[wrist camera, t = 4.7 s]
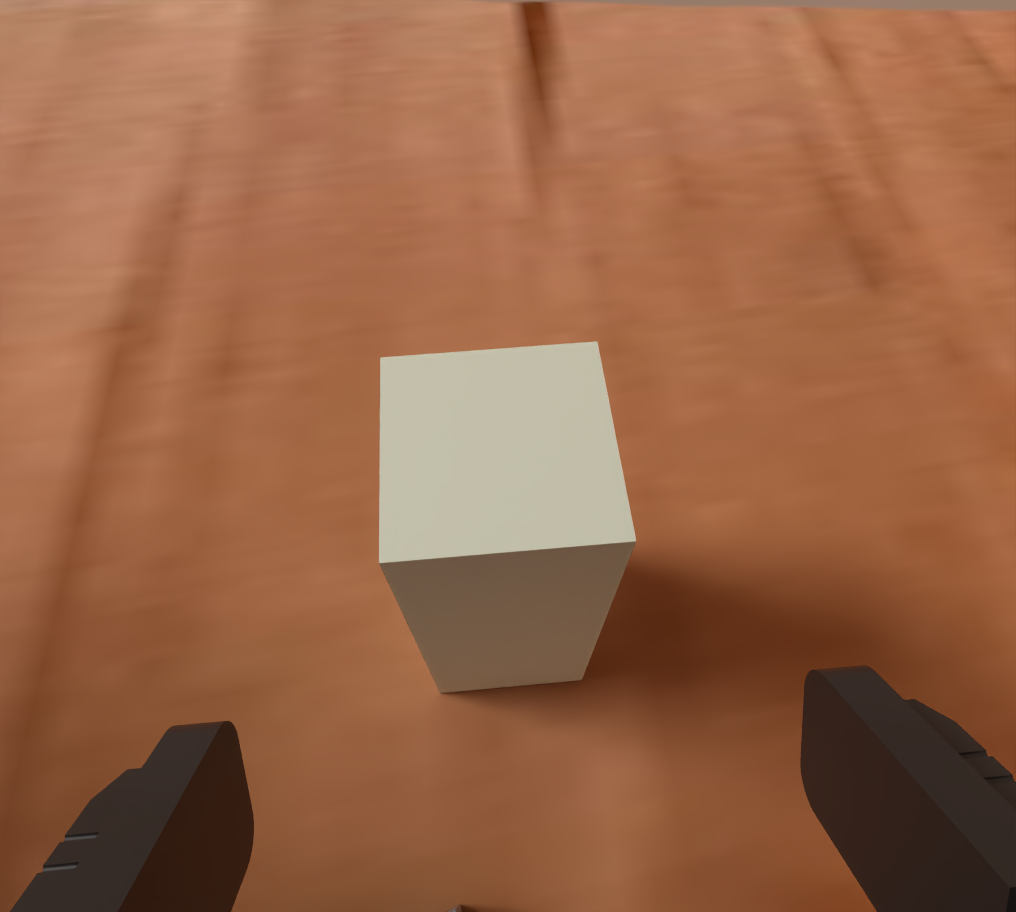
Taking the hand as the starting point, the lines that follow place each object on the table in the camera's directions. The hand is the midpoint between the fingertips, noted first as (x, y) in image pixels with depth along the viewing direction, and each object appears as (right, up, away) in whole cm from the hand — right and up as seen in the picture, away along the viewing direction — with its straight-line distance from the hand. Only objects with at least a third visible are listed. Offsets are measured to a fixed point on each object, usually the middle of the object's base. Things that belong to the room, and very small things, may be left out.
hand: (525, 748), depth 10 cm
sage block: (0, -1, +11) cm, 11 cm away
